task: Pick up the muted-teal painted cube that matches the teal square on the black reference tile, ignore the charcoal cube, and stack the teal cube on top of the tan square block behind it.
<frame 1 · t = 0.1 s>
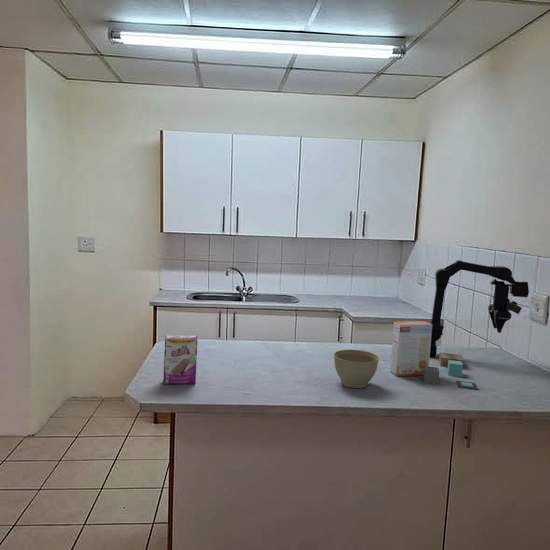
hand: (497, 330, 219), 15 cm above the counter, fingers open, 9 cm apart
teal cube: (454, 374, 201), on the counter
reference tile: (466, 385, 188), on the counter
charcoal cube: (430, 381, 191), on the counter
candy bar box: (179, 383, 175), on the counter
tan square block: (450, 365, 215), on the counter
cracker box: (408, 374, 199), on the counter
planter bowl: (354, 384, 183), on the counter
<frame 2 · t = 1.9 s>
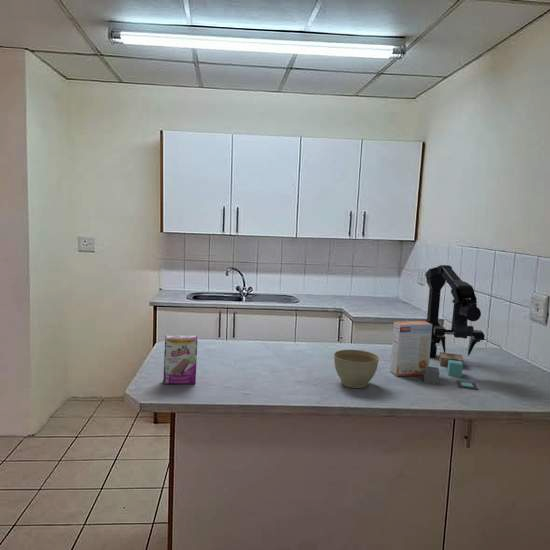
hand: (456, 353, 200), 8 cm above the counter, fingers open, 9 cm apart
nothing on the counter moved.
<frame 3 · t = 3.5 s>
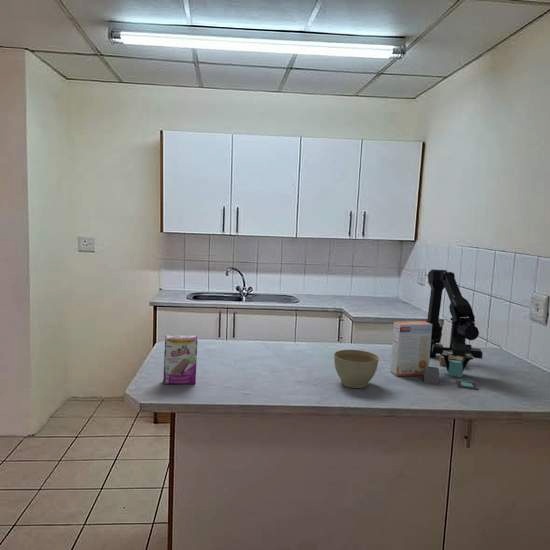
hand: (454, 371, 201), 1 cm above the counter, fingers closed on teal cube, 5 cm apart
teal cube: (454, 374, 201), on the counter, touching gripper
everything else where it was.
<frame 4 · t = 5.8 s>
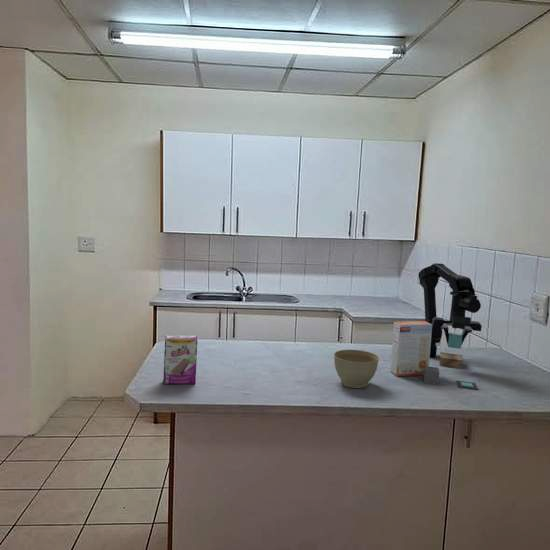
hand: (454, 344, 207), 11 cm above the counter, fingers closed on teal cube, 5 cm apart
teal cube: (453, 346, 207), point 10 cm above the counter, touching gripper
everything else where it was.
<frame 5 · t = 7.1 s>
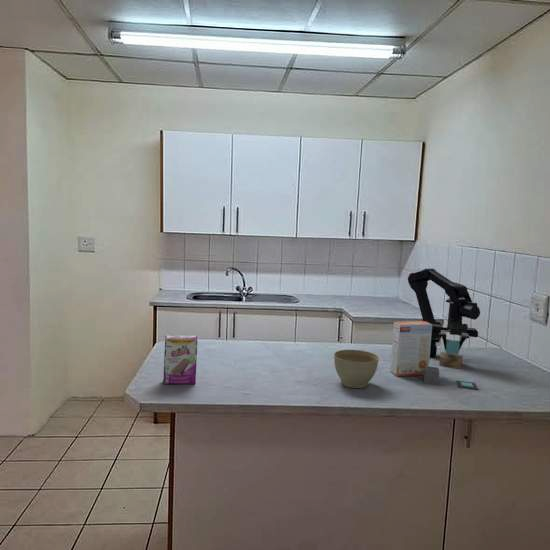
hand: (451, 350, 214), 6 cm above the counter, fingers closed on teal cube, 5 cm apart
teal cube: (451, 352, 214), point 5 cm above the counter, touching gripper
everything else where it was.
when the fingers open (6 cm above the counter, at t = 7.9 s): teal cube drops 1 cm, point 4 cm above the counter.
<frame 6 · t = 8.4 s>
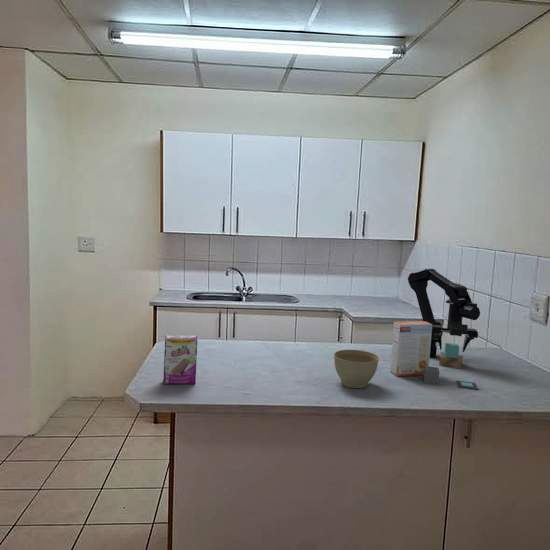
hand: (451, 350, 214), 6 cm above the counter, fingers open, 9 cm apart
teal cube: (451, 356, 214), point 4 cm above the counter
everything else where it was.
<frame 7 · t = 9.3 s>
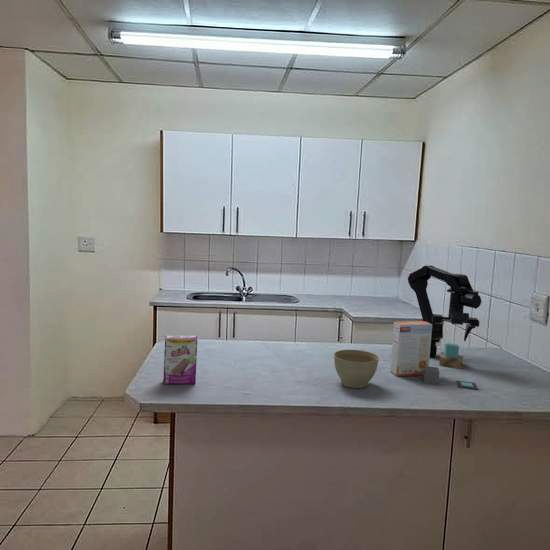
hand: (453, 339, 213), 11 cm above the counter, fingers open, 9 cm apart
nothing on the counter moved.
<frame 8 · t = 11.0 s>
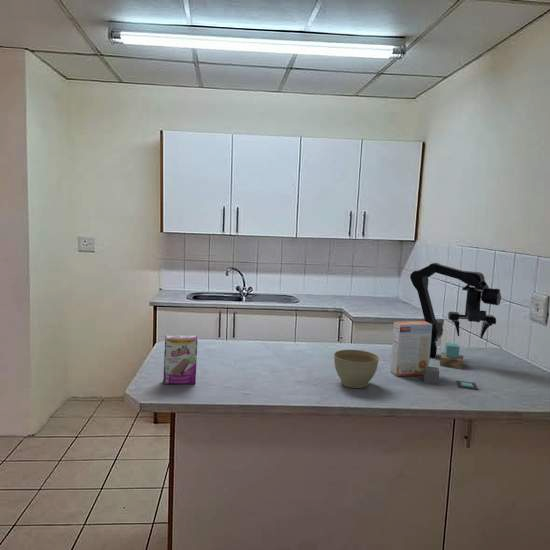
hand: (469, 337, 215), 12 cm above the counter, fingers open, 9 cm apart
teal cube: (451, 356, 215), point 4 cm above the counter, touching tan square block
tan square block: (451, 365, 215), on the counter, touching teal cube
everything else where it was.
at the end: teal cube 0.7 cm off-centre on the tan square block, point 4.0 cm above the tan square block's base; teal cube tilted 0°; the gripper is holding nothing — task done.
